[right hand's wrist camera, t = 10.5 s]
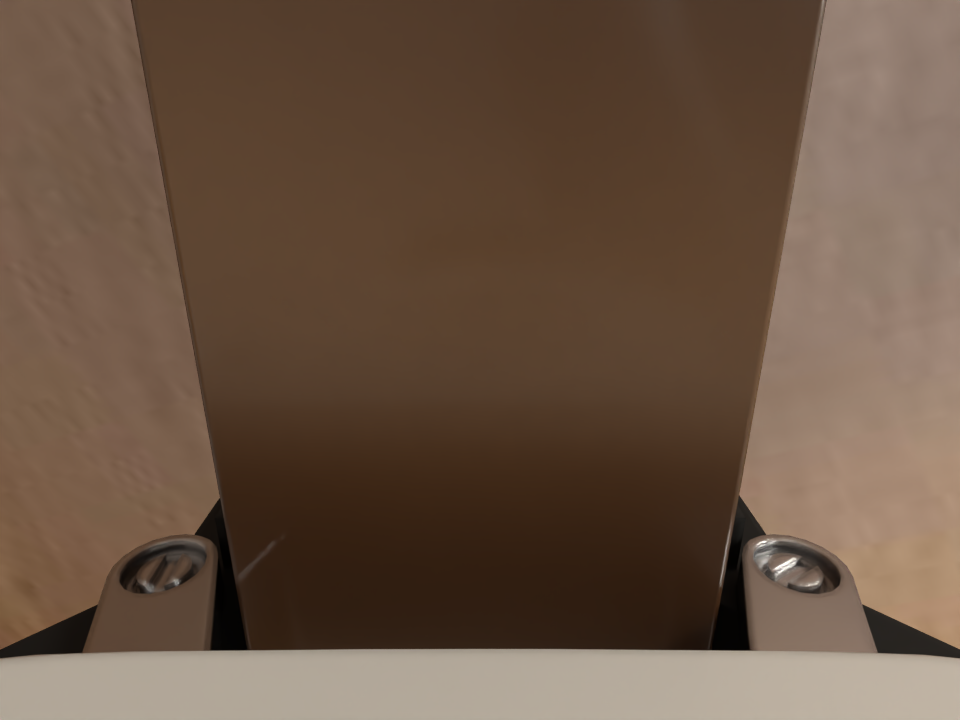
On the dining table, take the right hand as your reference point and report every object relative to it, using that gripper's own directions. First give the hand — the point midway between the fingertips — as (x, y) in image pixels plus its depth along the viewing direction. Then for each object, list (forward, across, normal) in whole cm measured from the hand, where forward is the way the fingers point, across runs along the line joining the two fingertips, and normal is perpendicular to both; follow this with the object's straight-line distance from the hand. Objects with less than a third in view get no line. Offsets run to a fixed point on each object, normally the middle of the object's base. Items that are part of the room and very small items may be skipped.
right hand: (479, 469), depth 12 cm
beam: (+4, 0, -30) cm, 31 cm away
